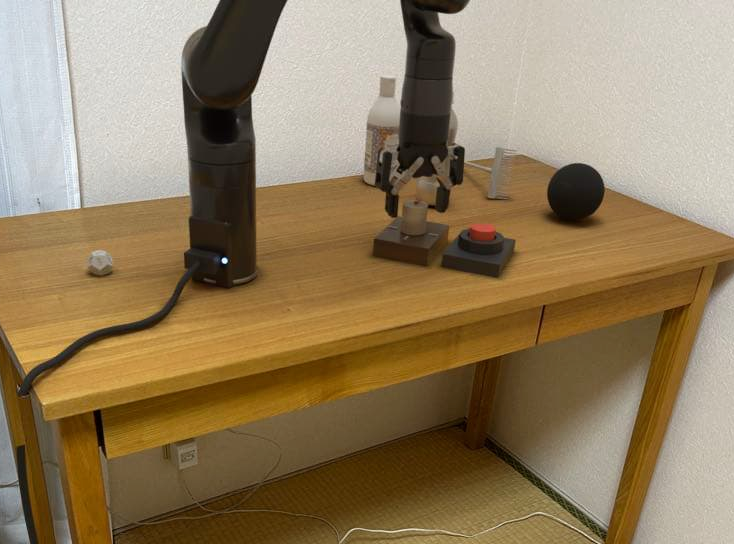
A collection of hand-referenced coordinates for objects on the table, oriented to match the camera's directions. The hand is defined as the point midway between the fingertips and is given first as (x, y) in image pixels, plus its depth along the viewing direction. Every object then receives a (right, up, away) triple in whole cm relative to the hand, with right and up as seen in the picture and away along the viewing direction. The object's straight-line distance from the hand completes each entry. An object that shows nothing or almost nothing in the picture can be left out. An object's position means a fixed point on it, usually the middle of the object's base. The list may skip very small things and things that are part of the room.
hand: (416, 213), depth 130 cm
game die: (-47, -11, -11) cm, 49 cm away
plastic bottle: (+5, +7, +24) cm, 25 cm away
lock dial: (0, -2, +2) cm, 3 cm away
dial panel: (-1, -5, +3) cm, 6 cm away
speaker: (+30, +4, +20) cm, 36 cm away
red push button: (+10, -4, -1) cm, 11 cm away
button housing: (+10, -7, +1) cm, 12 cm away
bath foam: (-4, +14, +34) cm, 37 cm away
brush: (+15, +16, +39) cm, 44 cm away
